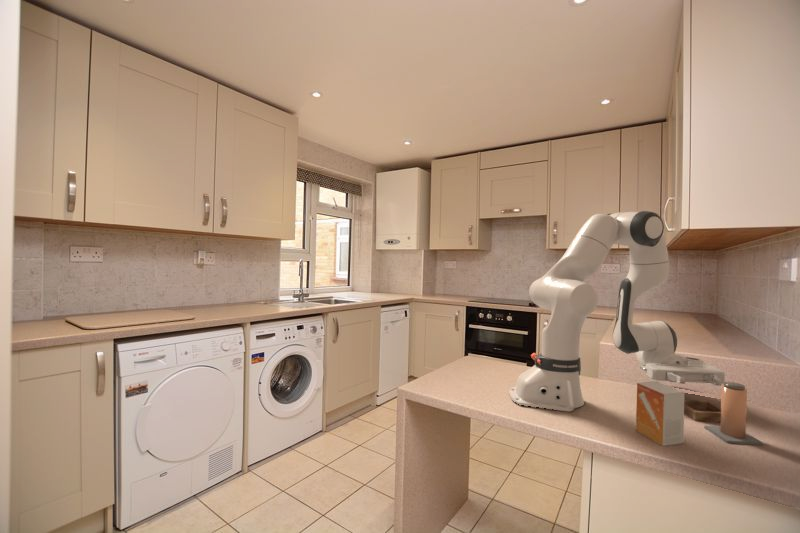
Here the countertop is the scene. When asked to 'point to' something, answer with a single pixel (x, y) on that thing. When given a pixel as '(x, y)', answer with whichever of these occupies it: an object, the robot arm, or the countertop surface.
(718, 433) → the mat
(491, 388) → the countertop surface
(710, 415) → the brown wooden square tray
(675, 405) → the small box
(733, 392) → the jar
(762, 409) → the countertop surface
